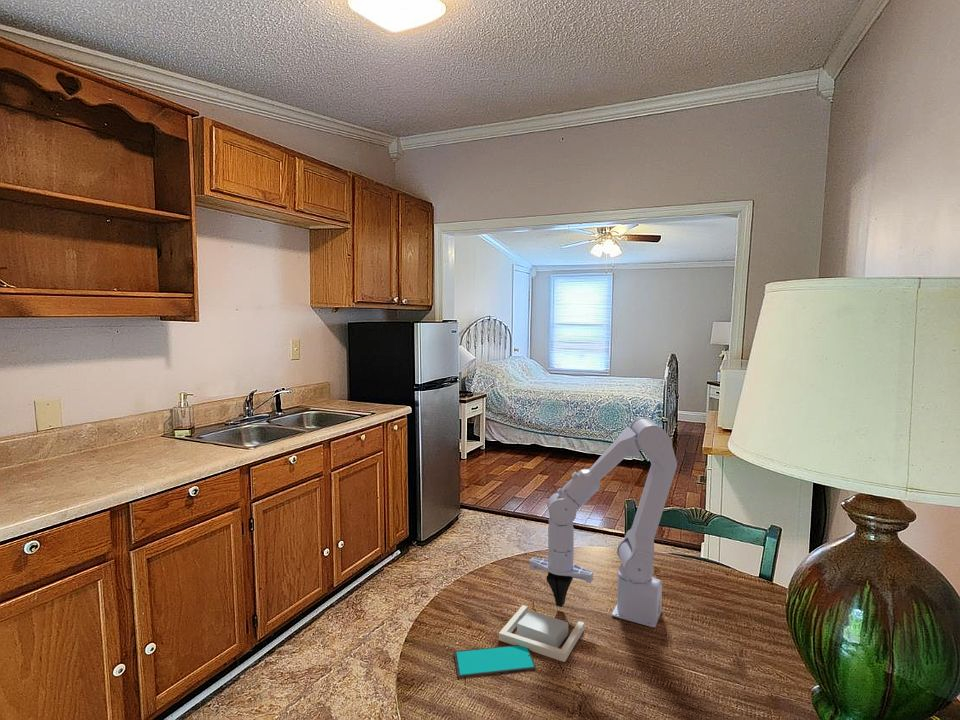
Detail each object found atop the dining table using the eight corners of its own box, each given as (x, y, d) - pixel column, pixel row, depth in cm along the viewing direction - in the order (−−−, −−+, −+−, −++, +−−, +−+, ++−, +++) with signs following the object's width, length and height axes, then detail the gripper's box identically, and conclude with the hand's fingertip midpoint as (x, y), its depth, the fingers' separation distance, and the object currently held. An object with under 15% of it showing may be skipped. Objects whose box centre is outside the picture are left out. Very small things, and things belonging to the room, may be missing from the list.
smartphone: (453, 651, 106) (526, 643, 108) (453, 655, 106) (526, 647, 108) (457, 676, 99) (536, 667, 101) (457, 680, 99) (536, 672, 101)
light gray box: (568, 636, 112) (568, 622, 112) (556, 651, 107) (556, 637, 107) (530, 622, 117) (530, 609, 117) (517, 636, 112) (517, 623, 112)
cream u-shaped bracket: (584, 629, 114) (584, 622, 113) (564, 662, 103) (564, 654, 103) (522, 611, 121) (522, 604, 120) (498, 640, 110) (498, 632, 110)
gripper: (597, 546, 120) (596, 604, 121) (537, 534, 127) (537, 588, 128) (588, 559, 114) (587, 619, 115) (525, 545, 121) (525, 602, 122)
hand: (560, 604), depth 121 cm, fingers closed
